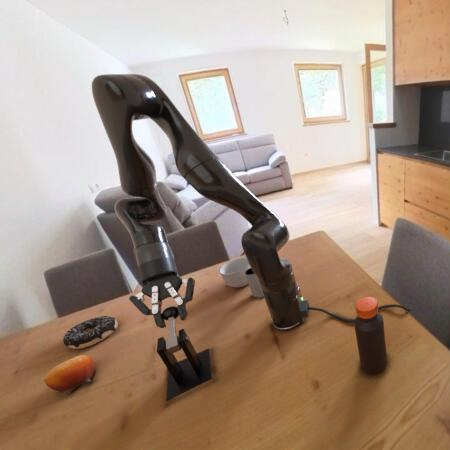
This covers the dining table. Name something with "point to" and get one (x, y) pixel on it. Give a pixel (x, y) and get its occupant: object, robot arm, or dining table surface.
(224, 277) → the teacup
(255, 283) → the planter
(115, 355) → the dining table surface
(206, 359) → the bracket
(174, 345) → the lever
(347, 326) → the dining table surface
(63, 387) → the fruit
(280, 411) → the dining table surface
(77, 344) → the donut
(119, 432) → the dining table surface
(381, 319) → the bottle
